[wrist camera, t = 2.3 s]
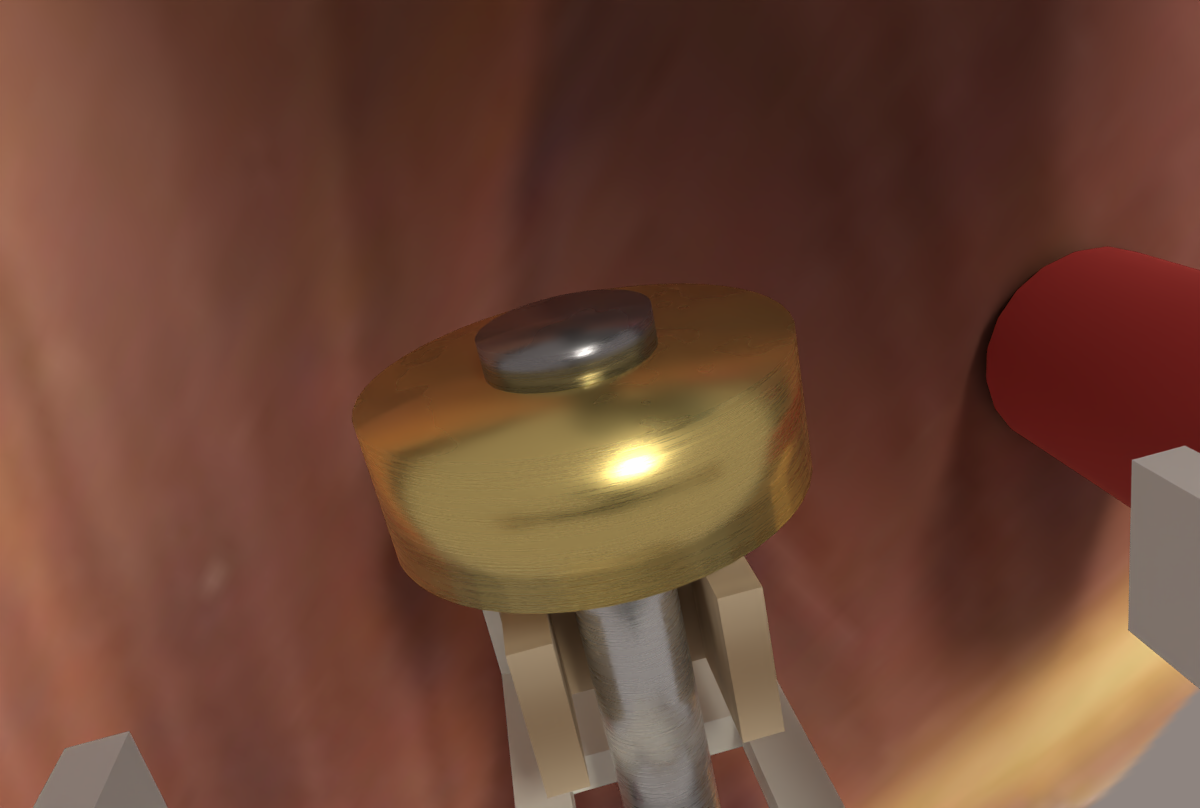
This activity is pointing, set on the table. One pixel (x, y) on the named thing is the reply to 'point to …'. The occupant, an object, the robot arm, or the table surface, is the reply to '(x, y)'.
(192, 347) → the table surface
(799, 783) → the beige slotted stand
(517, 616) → the cradle
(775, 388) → the gold disc on rod
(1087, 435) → the beer can
